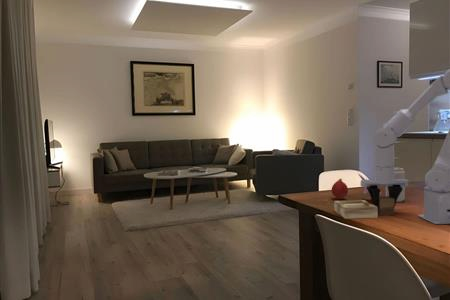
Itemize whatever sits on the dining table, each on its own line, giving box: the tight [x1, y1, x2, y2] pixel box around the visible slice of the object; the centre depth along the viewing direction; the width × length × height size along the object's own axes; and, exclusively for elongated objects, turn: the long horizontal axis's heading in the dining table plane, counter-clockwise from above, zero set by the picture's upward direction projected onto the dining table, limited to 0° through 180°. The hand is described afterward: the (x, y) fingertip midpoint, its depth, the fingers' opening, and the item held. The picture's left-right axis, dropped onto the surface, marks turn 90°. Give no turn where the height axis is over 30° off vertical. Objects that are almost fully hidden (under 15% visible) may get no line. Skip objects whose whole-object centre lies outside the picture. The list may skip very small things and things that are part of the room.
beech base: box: [333, 199, 379, 220], centre depth 118 cm, size 10×10×3 cm
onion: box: [331, 178, 349, 201], centre depth 139 cm, size 6×6×8 cm
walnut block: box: [378, 195, 395, 216], centre depth 119 cm, size 4×4×5 cm
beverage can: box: [384, 167, 406, 203], centre depth 136 cm, size 6×6×12 cm
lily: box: [357, 173, 382, 200], centre depth 135 cm, size 12×12×10 cm
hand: (383, 208), depth 119 cm, fingers closed on walnut block, 4 cm apart
